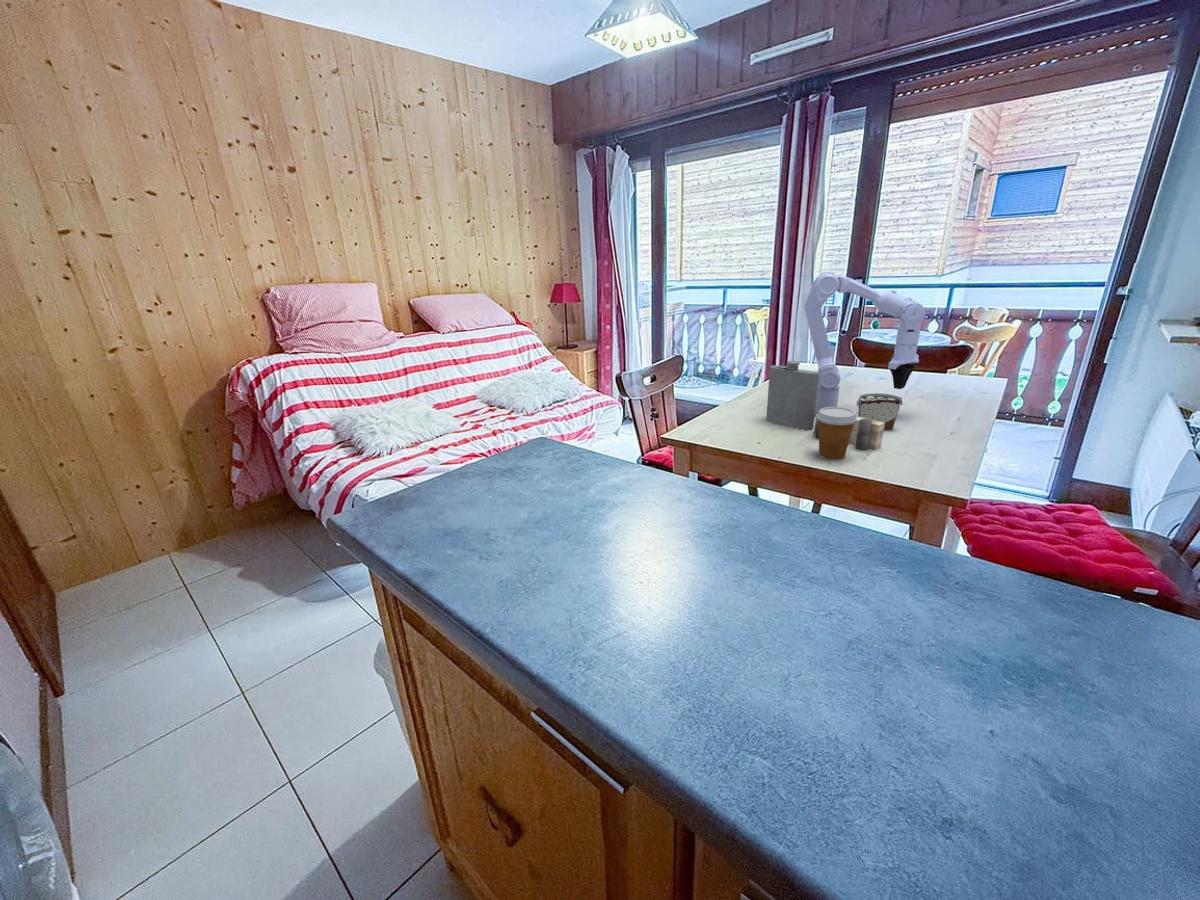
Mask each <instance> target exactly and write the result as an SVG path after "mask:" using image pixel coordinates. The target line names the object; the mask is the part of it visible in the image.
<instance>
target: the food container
mask: <svg viewBox="0 0 1200 900" xmlns="http://www.w3.org/2000/svg"><path fill="white" fill-rule="evenodd" d="M855 405H856V406H857V407H858V415H857V417H862V418H866V419H871V420H875V421H880V422H885V425H884V431H883V432H893V431H894V427H895V424H896V420H897V416H898V413H899V410H900V406H903V400H902V397H901V396H898V395H893V394H889V393H876V392H875V393H872V392H871V393H865V394H861V395H860V396H859V397H858V398H857V400H856V403H855Z"/></svg>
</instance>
